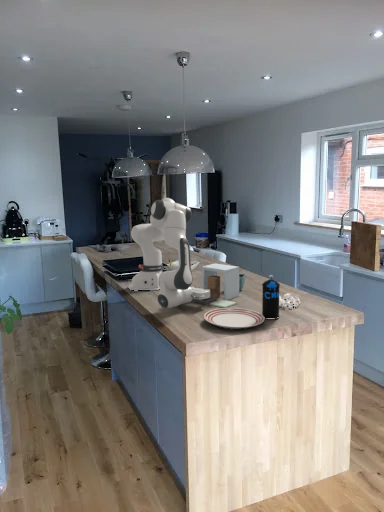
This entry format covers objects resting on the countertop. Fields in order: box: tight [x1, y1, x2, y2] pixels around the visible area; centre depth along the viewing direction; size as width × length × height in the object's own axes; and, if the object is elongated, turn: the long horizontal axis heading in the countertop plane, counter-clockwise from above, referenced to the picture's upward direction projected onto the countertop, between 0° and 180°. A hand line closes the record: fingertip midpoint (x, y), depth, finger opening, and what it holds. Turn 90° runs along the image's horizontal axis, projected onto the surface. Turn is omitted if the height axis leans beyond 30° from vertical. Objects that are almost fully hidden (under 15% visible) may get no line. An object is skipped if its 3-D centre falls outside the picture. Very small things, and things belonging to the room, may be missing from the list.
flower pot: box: [239, 273, 247, 292], centre depth 254 cm, size 9×9×9 cm
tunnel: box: [201, 262, 240, 301], centre depth 242 cm, size 12×17×16 cm
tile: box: [209, 298, 238, 308], centre depth 226 cm, size 10×10×1 cm
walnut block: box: [207, 275, 221, 300], centre depth 238 cm, size 5×5×12 cm
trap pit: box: [192, 297, 217, 305], centre depth 233 cm, size 9×9×1 cm
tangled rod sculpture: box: [279, 293, 301, 309], centre depth 224 cm, size 19×14×4 cm
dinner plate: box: [203, 307, 266, 330], centre depth 197 cm, size 28×27×3 cm
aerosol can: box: [261, 274, 281, 318], centre depth 202 cm, size 8×8×20 cm
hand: (202, 289), depth 231 cm, fingers open, 8 cm apart
